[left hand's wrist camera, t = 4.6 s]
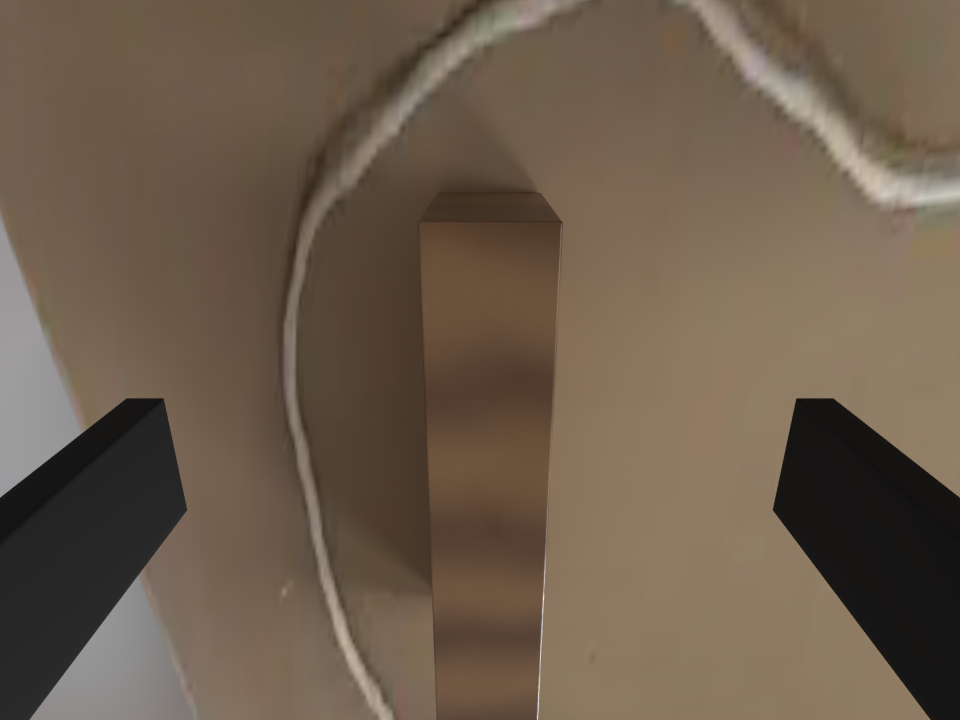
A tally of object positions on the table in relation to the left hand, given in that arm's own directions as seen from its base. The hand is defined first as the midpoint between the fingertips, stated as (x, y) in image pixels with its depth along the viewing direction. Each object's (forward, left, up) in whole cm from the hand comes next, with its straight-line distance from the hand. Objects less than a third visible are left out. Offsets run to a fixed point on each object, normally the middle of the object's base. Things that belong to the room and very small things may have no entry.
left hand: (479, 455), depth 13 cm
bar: (+9, 0, -19) cm, 21 cm away
